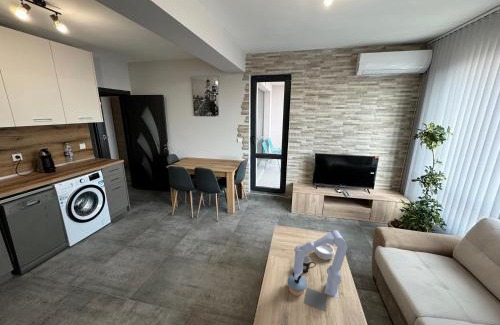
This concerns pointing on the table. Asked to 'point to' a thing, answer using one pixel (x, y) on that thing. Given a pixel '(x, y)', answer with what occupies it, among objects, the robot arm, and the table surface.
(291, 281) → the lid
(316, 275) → the table surface
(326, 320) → the table surface
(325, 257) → the paper bowls
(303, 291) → the bowl
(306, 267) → the coffee mug
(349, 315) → the table surface
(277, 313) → the table surface
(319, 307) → the mat
